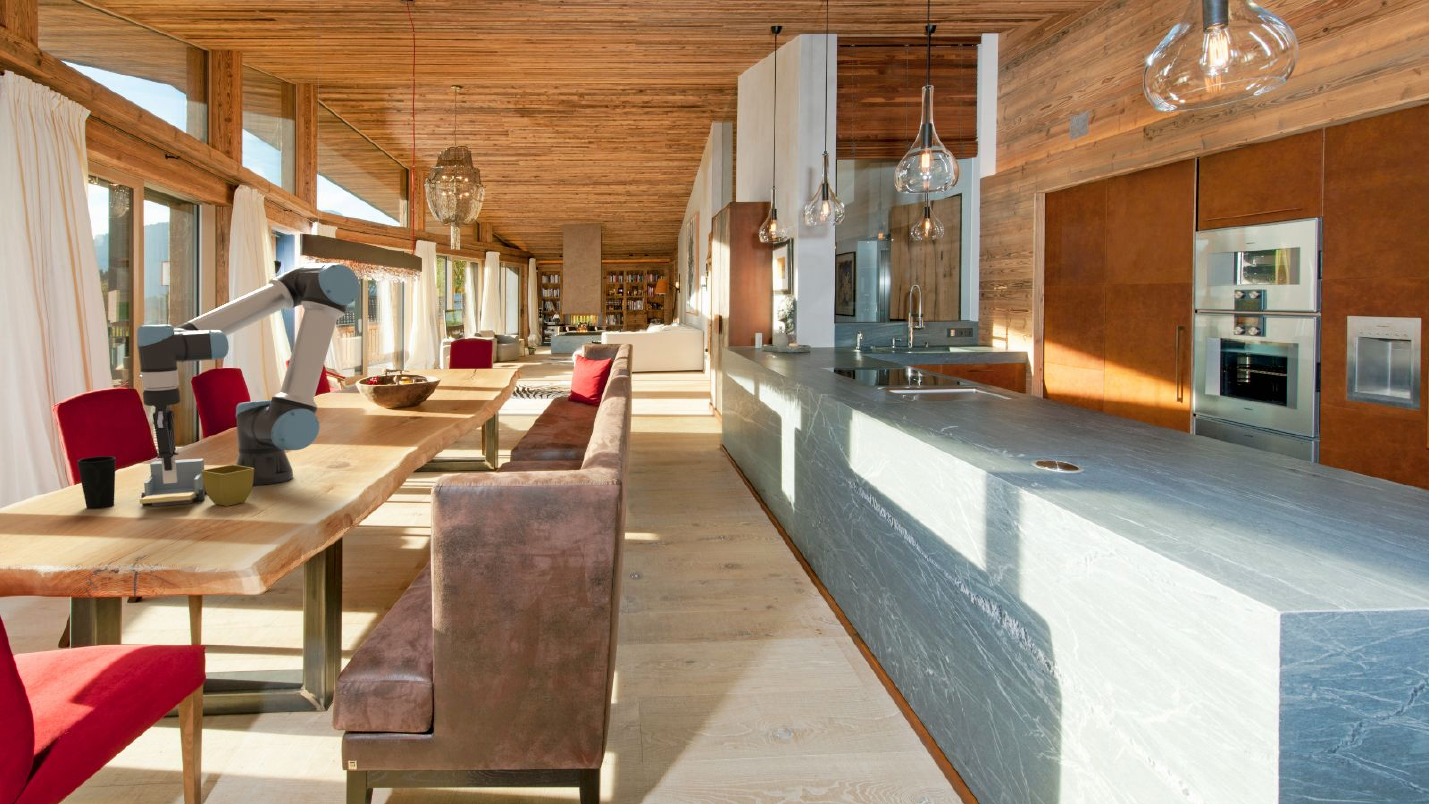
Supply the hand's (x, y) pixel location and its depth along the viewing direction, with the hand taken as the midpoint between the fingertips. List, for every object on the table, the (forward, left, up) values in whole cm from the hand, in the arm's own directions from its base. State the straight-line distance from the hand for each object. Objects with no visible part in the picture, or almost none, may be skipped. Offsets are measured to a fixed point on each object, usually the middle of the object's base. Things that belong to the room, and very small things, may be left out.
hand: (170, 482), depth 205 cm
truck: (+1, -10, -7) cm, 12 cm away
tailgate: (+1, -4, -4) cm, 6 cm away
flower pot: (-12, 0, -7) cm, 14 cm away
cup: (+17, -9, -7) cm, 20 cm away
